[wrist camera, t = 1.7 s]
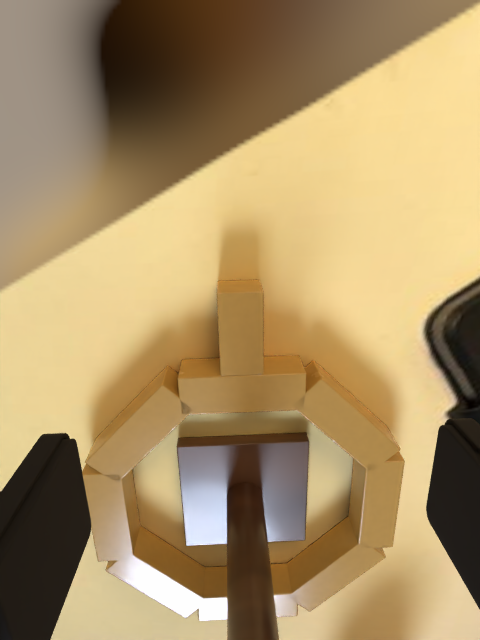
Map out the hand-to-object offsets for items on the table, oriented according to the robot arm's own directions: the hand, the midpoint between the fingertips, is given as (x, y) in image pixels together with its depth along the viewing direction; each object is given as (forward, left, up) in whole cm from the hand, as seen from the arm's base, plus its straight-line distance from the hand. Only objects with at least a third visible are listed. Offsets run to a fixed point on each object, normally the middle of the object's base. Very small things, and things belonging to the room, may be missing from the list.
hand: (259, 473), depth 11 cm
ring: (+8, 0, -10) cm, 13 cm away
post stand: (+10, 0, -10) cm, 14 cm away
